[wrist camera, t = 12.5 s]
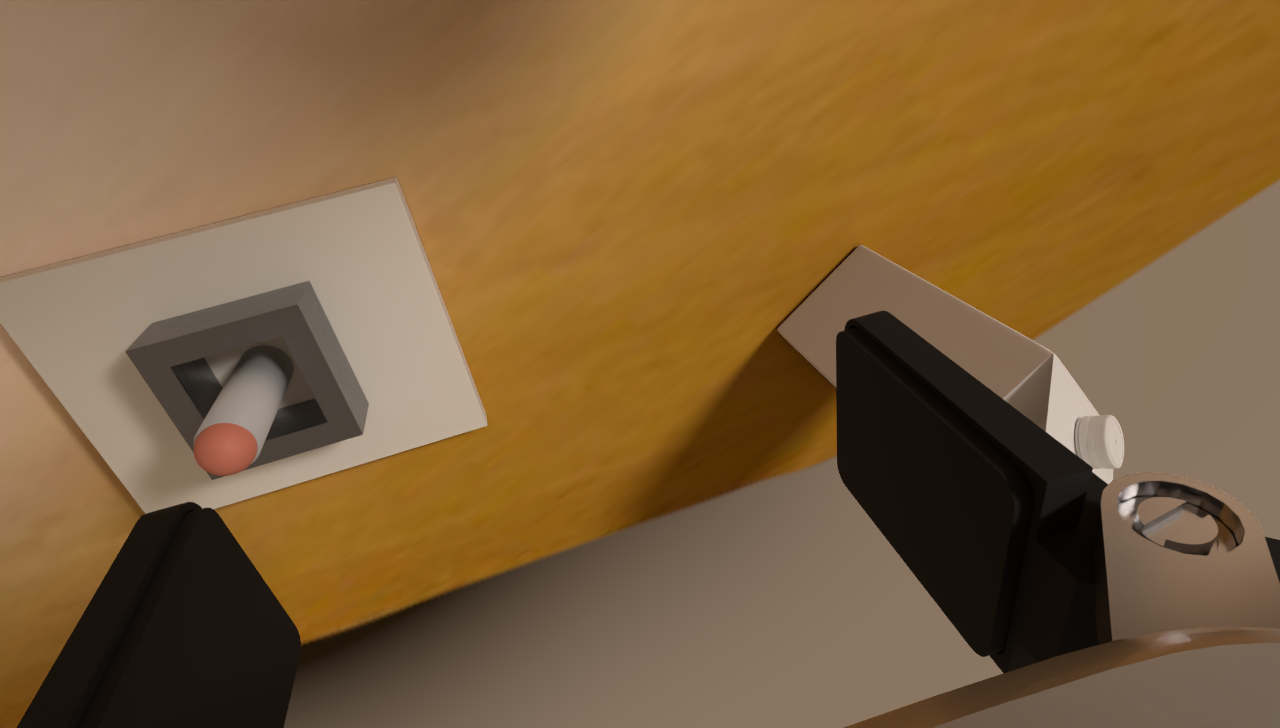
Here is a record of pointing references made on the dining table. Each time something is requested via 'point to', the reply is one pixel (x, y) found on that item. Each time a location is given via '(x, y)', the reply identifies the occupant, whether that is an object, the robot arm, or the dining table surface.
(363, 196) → the white peg stand
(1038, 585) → the robot arm
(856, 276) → the milk carton
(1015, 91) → the dining table surface
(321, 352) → the grey square socket block
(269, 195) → the dining table surface
